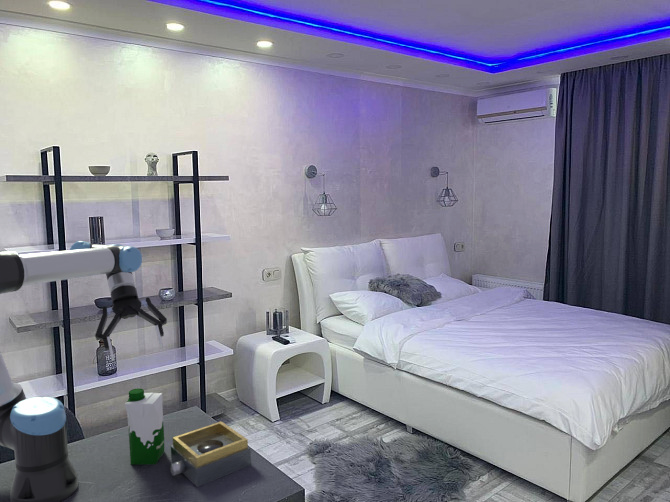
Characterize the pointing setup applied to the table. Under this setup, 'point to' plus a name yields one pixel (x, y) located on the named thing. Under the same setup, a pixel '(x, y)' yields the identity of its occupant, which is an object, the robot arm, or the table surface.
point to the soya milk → (145, 426)
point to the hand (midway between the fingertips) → (137, 352)
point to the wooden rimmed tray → (209, 453)
